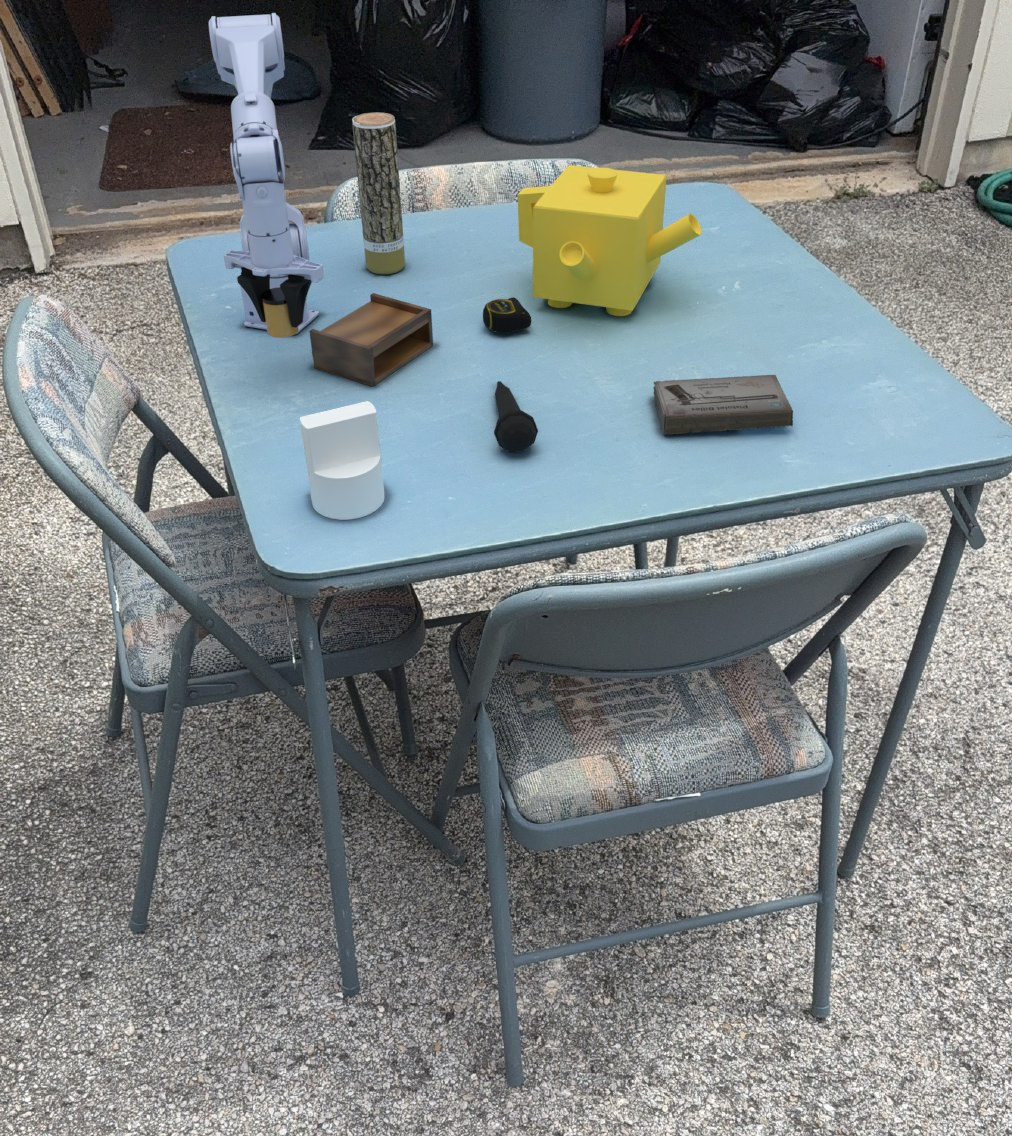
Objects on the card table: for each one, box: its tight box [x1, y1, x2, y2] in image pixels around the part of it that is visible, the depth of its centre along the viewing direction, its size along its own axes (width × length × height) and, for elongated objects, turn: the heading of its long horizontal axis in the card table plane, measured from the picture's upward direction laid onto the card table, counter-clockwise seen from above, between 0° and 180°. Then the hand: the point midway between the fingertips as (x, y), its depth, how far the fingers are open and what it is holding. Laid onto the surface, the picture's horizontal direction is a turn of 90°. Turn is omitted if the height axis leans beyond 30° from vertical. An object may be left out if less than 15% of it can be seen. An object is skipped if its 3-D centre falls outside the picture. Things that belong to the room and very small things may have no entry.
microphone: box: [493, 380, 539, 453], centre depth 154 cm, size 6×6×20 cm
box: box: [652, 374, 794, 436], centre depth 154 cm, size 11×17×3 cm, turn 92°
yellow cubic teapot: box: [517, 164, 703, 317], centre depth 180 cm, size 35×29×20 cm
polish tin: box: [261, 287, 299, 339], centre depth 160 cm, size 5×5×6 cm
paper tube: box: [351, 112, 406, 275], centre depth 188 cm, size 7×7×25 cm
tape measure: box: [482, 296, 532, 334], centre depth 176 cm, size 7×7×4 cm
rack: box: [308, 292, 434, 388], centre depth 169 cm, size 11×15×6 cm
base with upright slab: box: [299, 400, 385, 521], centre depth 137 cm, size 9×9×12 cm
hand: (281, 321), depth 161 cm, fingers closed on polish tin, 4 cm apart
